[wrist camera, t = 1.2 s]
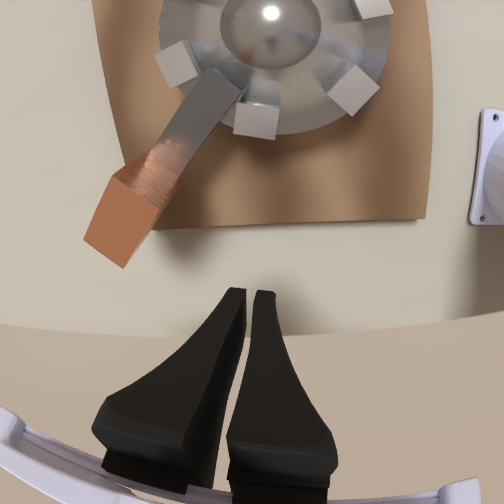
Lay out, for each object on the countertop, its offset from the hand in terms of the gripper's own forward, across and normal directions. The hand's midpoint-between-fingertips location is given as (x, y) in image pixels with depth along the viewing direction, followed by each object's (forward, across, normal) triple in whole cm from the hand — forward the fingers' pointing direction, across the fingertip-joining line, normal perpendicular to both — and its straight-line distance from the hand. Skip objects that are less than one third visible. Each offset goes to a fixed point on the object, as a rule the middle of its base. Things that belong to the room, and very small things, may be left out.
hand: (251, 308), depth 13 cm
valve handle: (+8, +2, -8) cm, 11 cm away
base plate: (+9, +1, -10) cm, 14 cm away
